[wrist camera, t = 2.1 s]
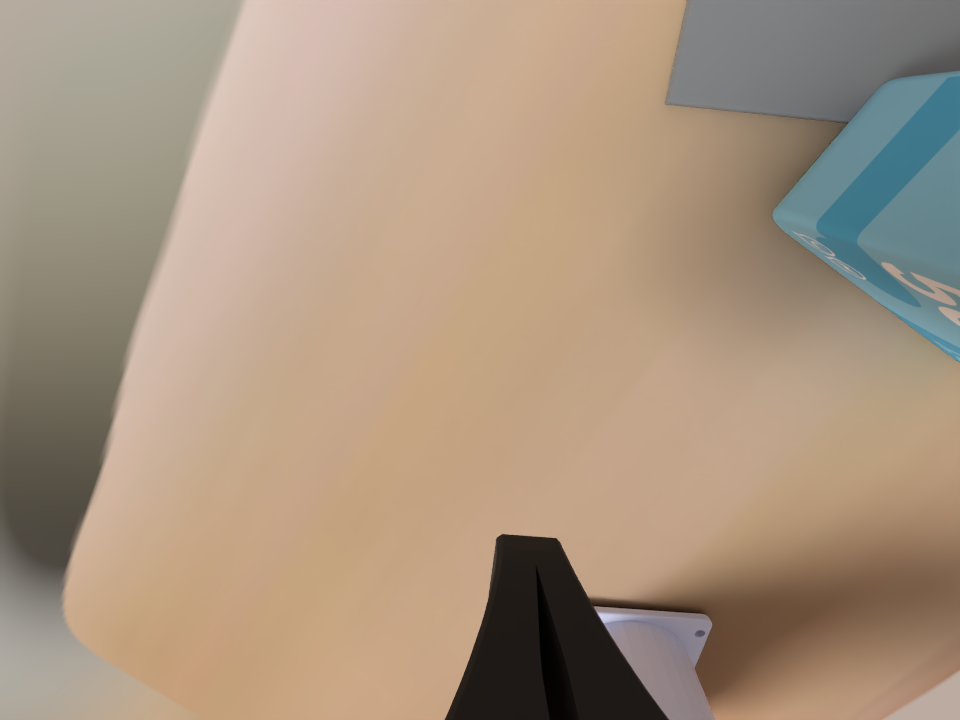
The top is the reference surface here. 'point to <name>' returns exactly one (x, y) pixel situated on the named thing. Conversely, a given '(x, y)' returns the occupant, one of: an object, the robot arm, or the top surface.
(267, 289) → the top surface
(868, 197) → the blue square block
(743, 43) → the mat
